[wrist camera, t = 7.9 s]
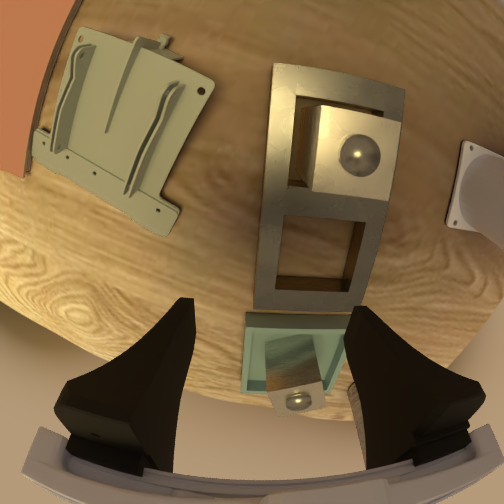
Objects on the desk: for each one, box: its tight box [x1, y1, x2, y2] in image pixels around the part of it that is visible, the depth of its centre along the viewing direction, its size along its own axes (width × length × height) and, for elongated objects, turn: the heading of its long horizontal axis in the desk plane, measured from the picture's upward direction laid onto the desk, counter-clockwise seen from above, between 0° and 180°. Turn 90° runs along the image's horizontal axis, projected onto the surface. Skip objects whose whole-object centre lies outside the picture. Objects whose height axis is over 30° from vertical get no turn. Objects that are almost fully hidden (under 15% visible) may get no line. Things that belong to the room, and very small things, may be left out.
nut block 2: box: [295, 105, 401, 201], centre depth 16 cm, size 4×4×6 cm
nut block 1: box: [264, 334, 326, 417], centre depth 24 cm, size 4×4×6 cm
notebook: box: [0, 0, 83, 179], centre depth 11 cm, size 27×17×2 cm, turn 157°
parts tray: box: [241, 312, 351, 394], centre depth 27 cm, size 10×10×2 cm
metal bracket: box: [32, 27, 215, 237], centre depth 17 cm, size 14×6×15 cm
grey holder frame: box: [253, 63, 405, 312], centre depth 19 cm, size 9×18×2 cm, turn 176°
